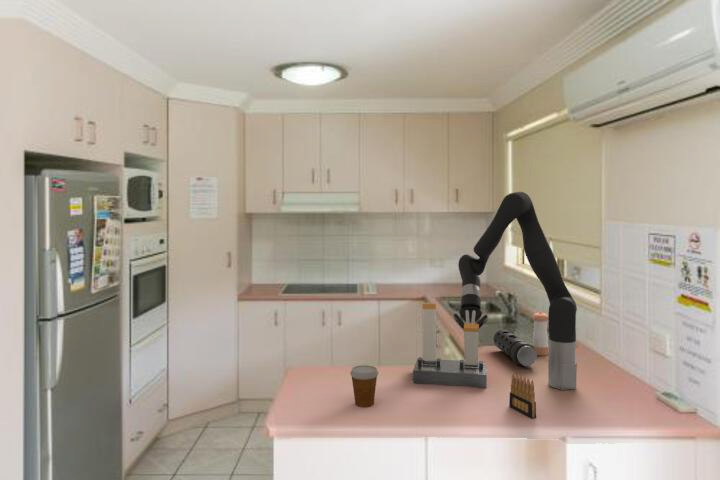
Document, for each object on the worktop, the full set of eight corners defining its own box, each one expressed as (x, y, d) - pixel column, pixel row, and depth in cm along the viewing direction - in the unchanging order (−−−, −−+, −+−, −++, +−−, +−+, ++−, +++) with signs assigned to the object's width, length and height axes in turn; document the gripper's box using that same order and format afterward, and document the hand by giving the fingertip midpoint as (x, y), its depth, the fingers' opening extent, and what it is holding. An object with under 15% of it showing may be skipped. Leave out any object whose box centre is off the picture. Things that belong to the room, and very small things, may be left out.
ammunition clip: (536, 418, 162) (536, 380, 161) (531, 419, 161) (532, 381, 160) (513, 406, 172) (513, 370, 171) (509, 406, 171) (509, 371, 170)
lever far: (422, 363, 202) (422, 302, 201) (436, 363, 201) (436, 303, 200) (422, 364, 200) (422, 303, 199) (435, 365, 199) (435, 304, 197)
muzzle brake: (512, 350, 238) (512, 328, 237) (538, 369, 210) (538, 344, 209) (492, 351, 237) (492, 329, 237) (515, 370, 209) (516, 345, 209)
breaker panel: (417, 370, 210) (417, 352, 209) (485, 374, 204) (485, 356, 204) (412, 383, 194) (412, 364, 194) (486, 388, 188) (486, 368, 188)
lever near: (464, 363, 199) (463, 323, 183) (478, 364, 198) (478, 323, 182) (464, 367, 197) (463, 327, 182) (478, 368, 196) (478, 328, 181)
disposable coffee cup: (349, 399, 179) (349, 365, 178) (377, 398, 179) (376, 364, 179) (351, 409, 169) (350, 374, 169) (380, 408, 170) (379, 373, 169)
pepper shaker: (528, 352, 235) (528, 310, 233) (539, 350, 238) (540, 309, 237) (540, 356, 228) (541, 313, 227) (552, 354, 231) (552, 312, 230)
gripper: (488, 304, 200) (488, 343, 189) (453, 303, 203) (452, 342, 192) (488, 293, 195) (489, 333, 184) (453, 292, 198) (451, 331, 187)
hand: (470, 337), depth 188 cm, fingers closed
